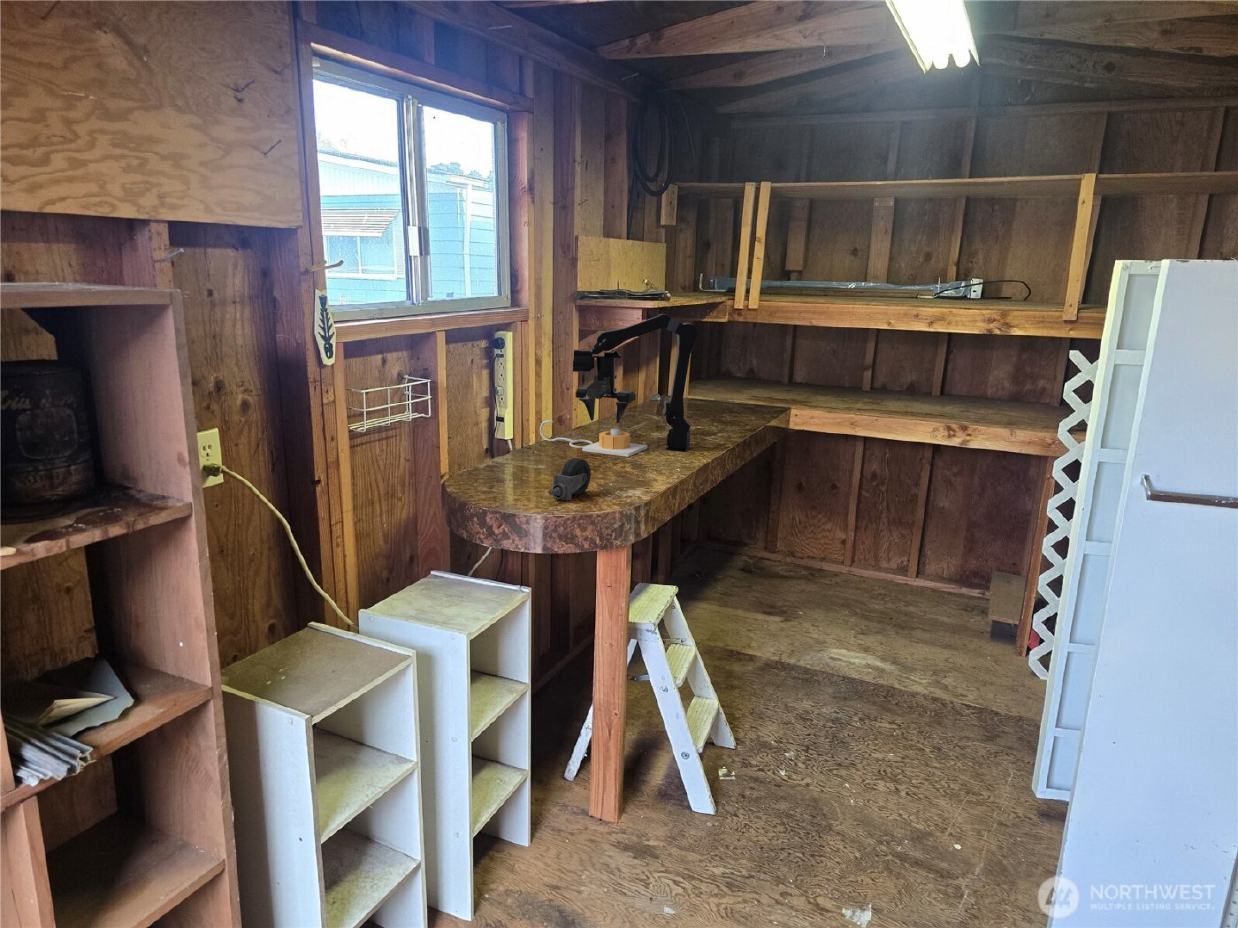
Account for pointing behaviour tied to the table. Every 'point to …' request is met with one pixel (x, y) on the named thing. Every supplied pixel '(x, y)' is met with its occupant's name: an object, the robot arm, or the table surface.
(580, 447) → the hook
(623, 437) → the wooden bowl
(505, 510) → the table surface
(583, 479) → the caster wheel
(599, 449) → the post board
